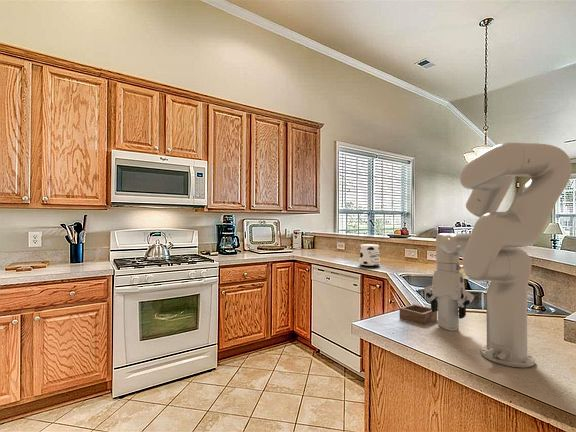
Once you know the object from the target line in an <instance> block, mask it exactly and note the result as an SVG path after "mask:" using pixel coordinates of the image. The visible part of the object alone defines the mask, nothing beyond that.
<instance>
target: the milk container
mask: <svg viewBox="0 0 576 432" xmlns="http://www.w3.org/2000/svg"><path fill="white" fill-rule="evenodd" d="M379 245H380V244H373V243H372V244H371V243H366V244H364V243H363V244H360V247H359V249H360V250H359V253H360V254H359V259H358V263H359V265H360V266H362V265H364V266H363V267H366V266H376V267H379V266H380V265H381V257H380V246H379Z"/></svg>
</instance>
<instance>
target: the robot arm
mask: <svg viewBox="0 0 576 432" xmlns="http://www.w3.org/2000/svg"><path fill="white" fill-rule="evenodd" d="M572 168H573V166H572V161H571V159H570V156H569V155H568V154H567V152H565V151H564V150H563V149H561V148H560V147H558V146H555V145H552V144H546V143H537V142H536V143H535V142H533V143H532V142H527V143H526V142H503V143H499V144H497V145H495V146H493V147H491V148H489V149H488V150H486V151H484V152H482V153H481V154H479V155H477V156H475V157H474V158H472V159H471V160H470V161H469V162H467V163H466V164H465V166H464V167H463V168H462V170H461V172H460V177H459V178H460V179H459V180H460V184H461V186H462V187H463V188H465V189H467V190H472V191H471V193H470V195H469V197H468V199H467V201H466V204H465V208H466V210H467V211H468V212H469V213H470V214H472V215H473V216H475V217H476V218H478V219H477V220H476V221H475V223H474V226H473V228H472V230H471V233H450V232H449V233H448V232H442V233H441V232H440V233H437V234H436V236H435V260H436V261H435V269H434V272H433V275H432V283H431V285H427V286H425V287H423V289H424V291H425V295H426V296H427V297H428V299H429V301H430V308H431V309H432V312H436V311H437V312H438V302H437V297H439V298H443V296H450V297H451V300H454V301H457V302H458V319H460V320H461V319H464V318H465V317H466V315H467V309H466V308H467V306H469V305H470V304H471V303H472V301H473V300H474V298H475V296H474V294H472V293H470V292H469V291H468V290H466V288H465V279H464V275H463V272H464V274H465V275H466V277H468V278H469V279H472V280H474V281H478V282H479V281H481V282H489V281H490V282H489V284H488V286H487V290H486V296H485V297H486V345H483V346H482V347H480V351H479V352H480V354H481V355H482V357H484V358H485V359H486V360H489V361H491V362H494V363H495V364H499V365H501V366H507V367H512V368H530V367H533V366H535V363H536V362H535V358H534V357H533V355H531V354H530V353H528V287H529V283H530V282H529V281H530V277H531V272H532V266H533V265H532V260H531V257H530V256H529V254H528V253H527V252H526V251H525V250H524V249H521V248H526V247H530V246H533V245H534V244H536V243H537V242H538V241H539V239H540V236H541V235H542V232H543V231H544V228H545V227H546V224H547V223H548V221H549V218H550V216H551V214H552V212H553V211H554V208H555V205H556V203H557V202H558V200H559V198H560V197H561V195H562V194H563V192H564V191H565V189H566V187H567V185H568V184H569V182H570V178H571V176H572V170H573V169H572ZM515 177H529V178H530V179H529V180H528V181H527V182H526V183H524V185H522V187H520V188H519V190H518V191H517V192H516V193H515V195H514V198H513V200H512V202H511V205H510V207H509V208H508V210H505V211H498V210H499V208H500V206H501V204H502V202H503V200H504V198H505V196H506V194H507V193H508V191H509V189H510V187H511V185H512V184H513V181H514V180H515ZM460 257H462V261H461V263H460ZM462 270H463V272H462ZM465 298H466V300H465Z"/></svg>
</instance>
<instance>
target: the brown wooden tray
mask: <svg viewBox="0 0 576 432" xmlns="http://www.w3.org/2000/svg"><path fill="white" fill-rule="evenodd" d="M399 319H401V320H405V321H408V322H412V323H416V324H418V325H422V326H424V325H427V324H429V323H430V324H431V323H433V322H435V321H438V311H436V312H432V309H431V307H427V306H424V305H419V304H413V303H412V304H409V305H405V306H403V307H400V308H399Z"/></svg>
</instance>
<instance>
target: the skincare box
mask: <svg viewBox="0 0 576 432" xmlns="http://www.w3.org/2000/svg"><path fill="white" fill-rule="evenodd" d="M436 300H437V302H438V311H437V322H438V324H437V325H438V327H441V328H443V329H445V330H447V331H450V332H453V331H460V326H459V325H460V323H459V322H460V321H459V319H460V318H459V304H458V302H457V301H454V300H451V297H450V296H443V298H439V297H437V299H436Z"/></svg>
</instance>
